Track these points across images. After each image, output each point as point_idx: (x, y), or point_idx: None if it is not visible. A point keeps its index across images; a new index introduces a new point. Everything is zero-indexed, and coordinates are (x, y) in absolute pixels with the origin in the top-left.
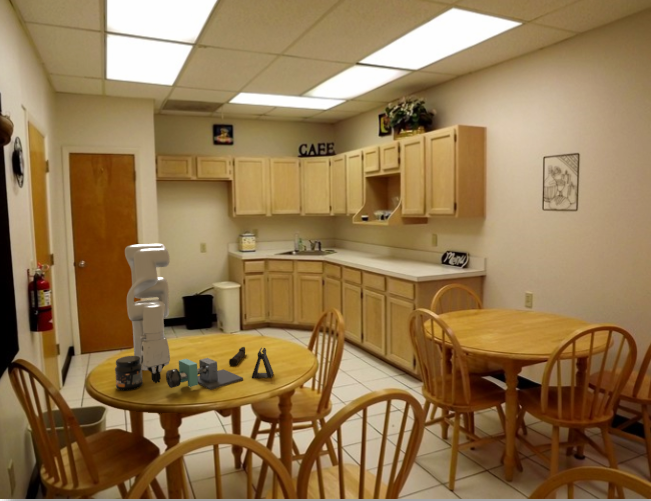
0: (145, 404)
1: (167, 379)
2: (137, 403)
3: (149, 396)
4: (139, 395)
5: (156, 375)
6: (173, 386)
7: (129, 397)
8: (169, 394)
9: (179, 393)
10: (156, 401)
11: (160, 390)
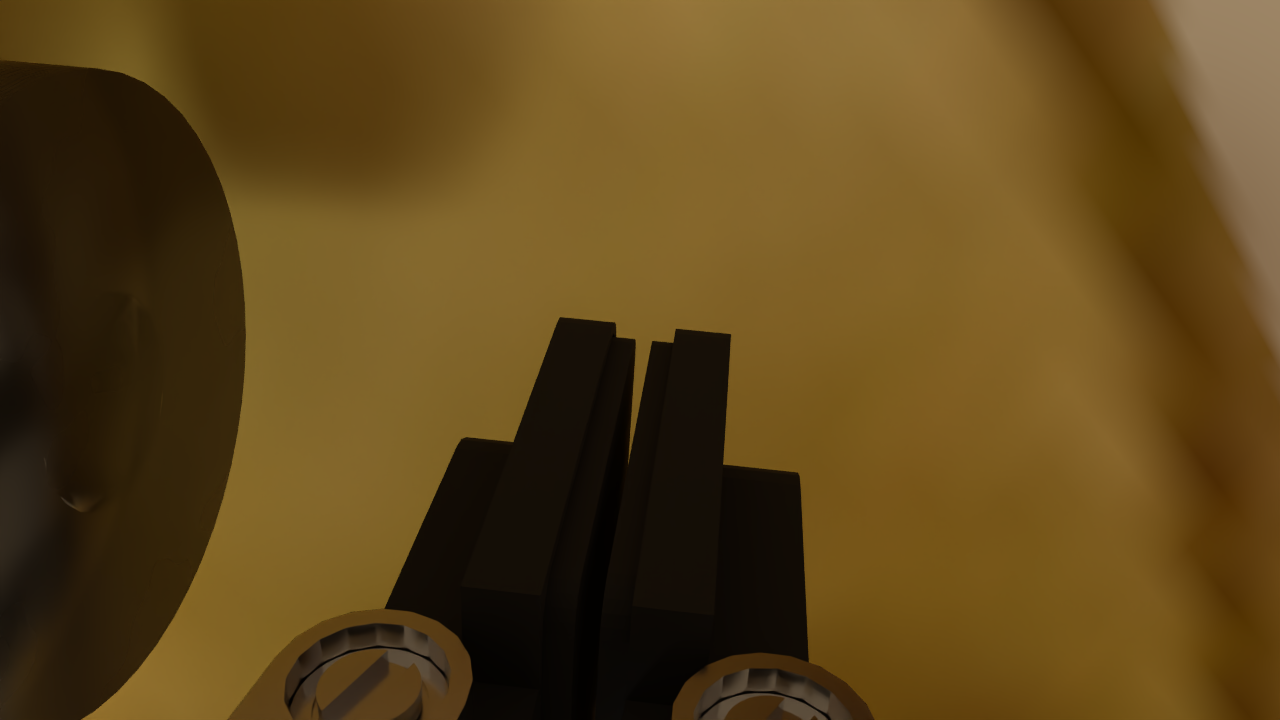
0: (1119, 62)
1: (169, 533)
2: (1182, 286)
3: (745, 439)
4: (852, 634)
5: (673, 522)
6: (164, 107)
7: (1041, 690)
8: (348, 187)
9: (120, 42)
10: (813, 17)
11: (408, 543)
